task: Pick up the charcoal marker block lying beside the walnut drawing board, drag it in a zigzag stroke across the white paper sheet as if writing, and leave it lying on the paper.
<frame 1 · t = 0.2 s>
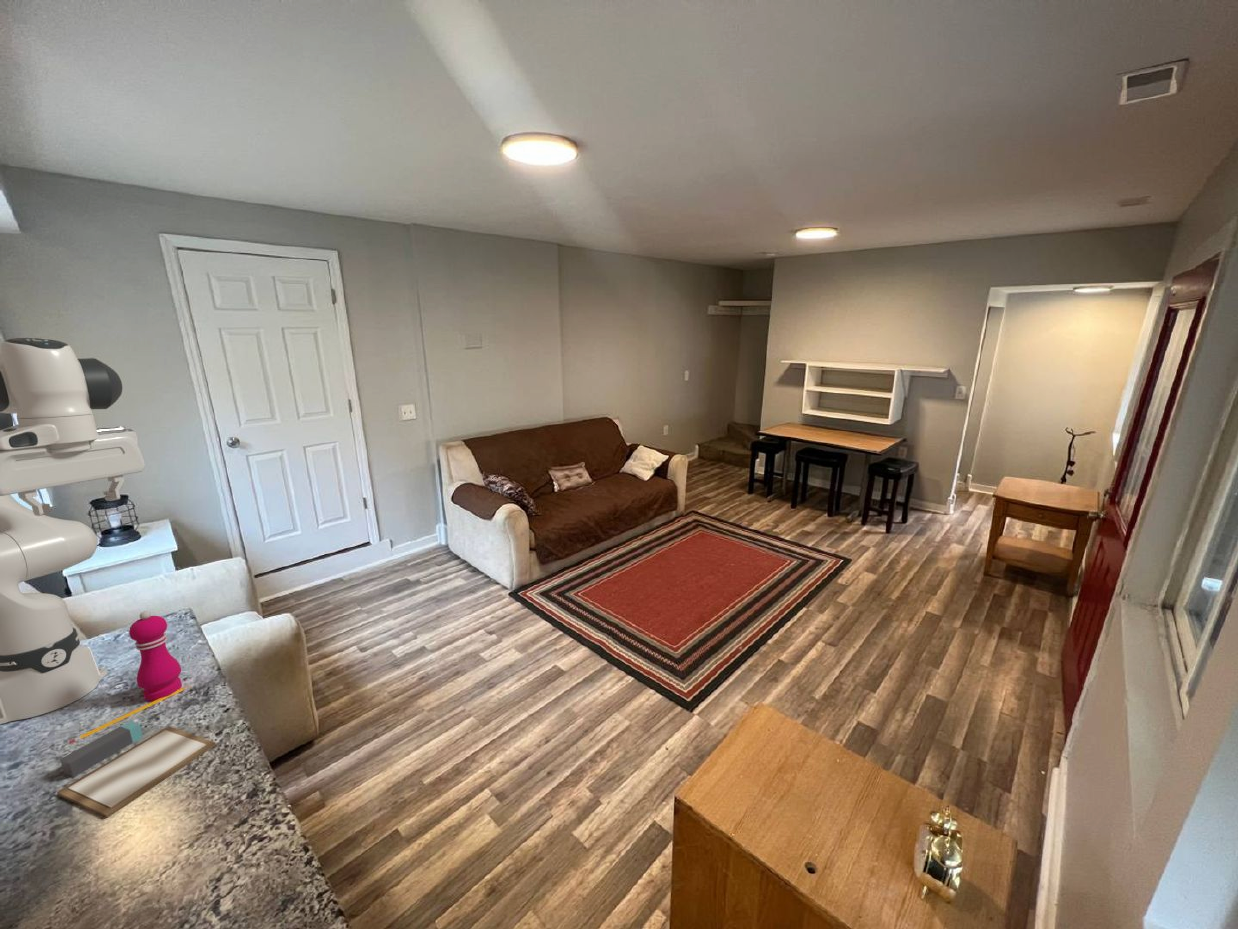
hand: (79, 506, 87), 47 cm above the countertop, tool pointing down, fingers open, 8 cm apart
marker: (105, 754, 91), on the countertop
pepper mill: (163, 693, 108), on the countertop
board: (141, 768, 87), on the countertop
pencil: (136, 714, 102), on the countertop
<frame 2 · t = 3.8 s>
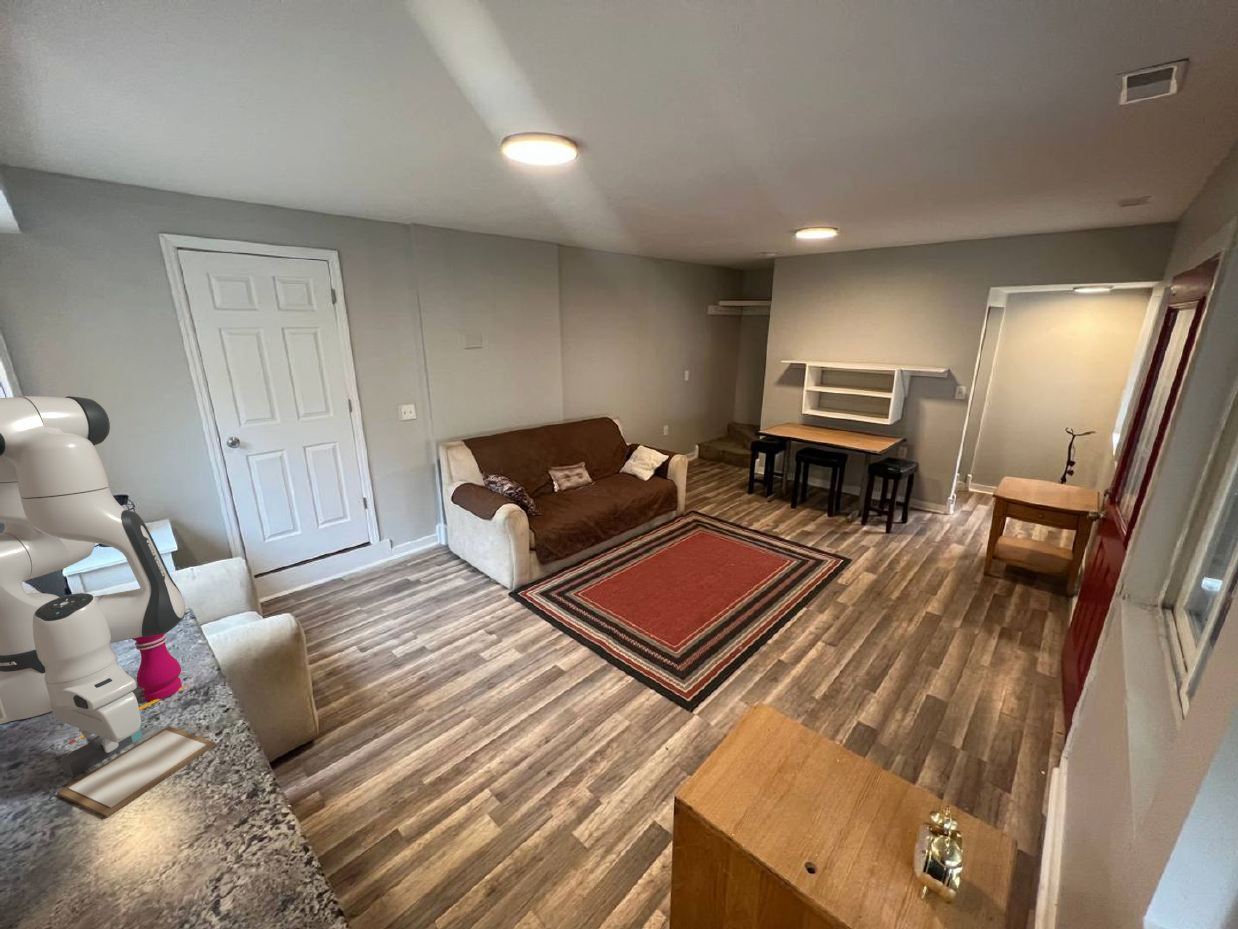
hand: (103, 746, 90), 2 cm above the countertop, tool pointing down, fingers closed on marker, 3 cm apart
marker: (105, 754, 91), on the countertop, touching gripper
everything else where it was.
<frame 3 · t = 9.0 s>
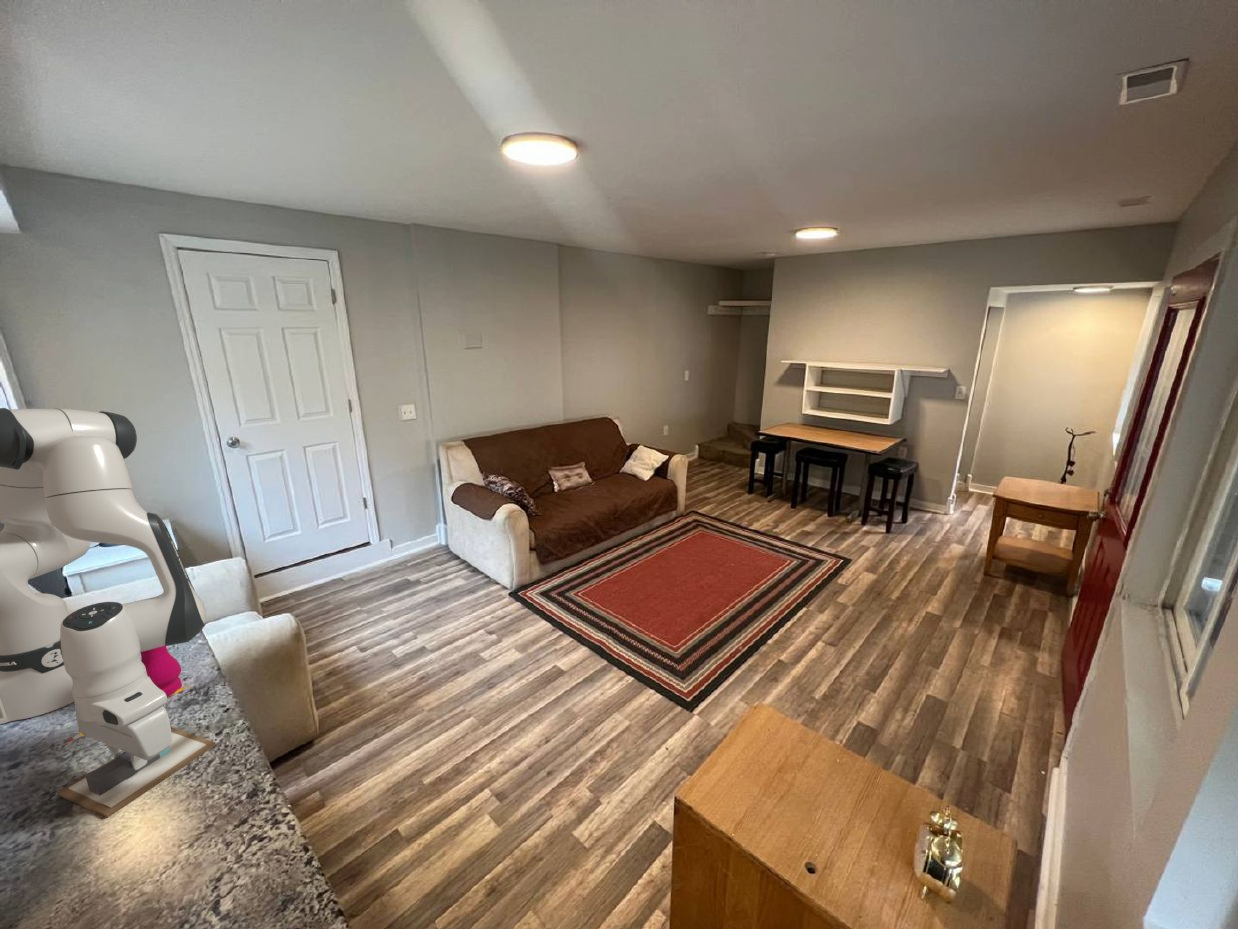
hand: (131, 763, 86), 2 cm above the countertop, tool pointing down, fingers closed on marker, 3 cm apart
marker: (132, 770, 86), point 1 cm above the countertop, touching gripper
everything else where it was.
when the fingers open (2 cm above the countertop, at t = 11.7 s): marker stays where it is, resting on board.
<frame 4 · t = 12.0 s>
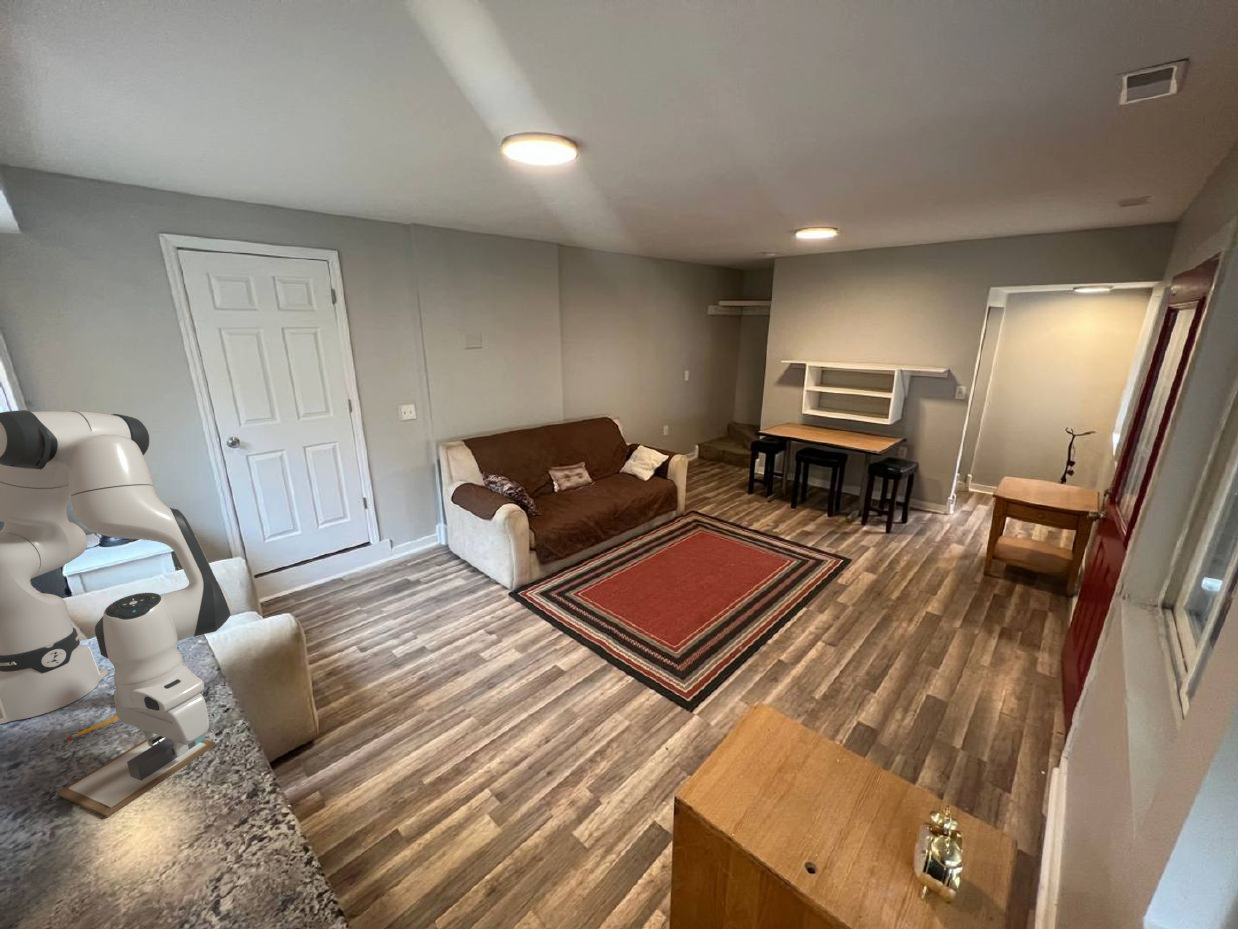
hand: (168, 749, 88), 2 cm above the countertop, tool pointing down, fingers open, 5 cm apart
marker: (169, 757, 89), point 1 cm above the countertop, touching board
everything else where it was.
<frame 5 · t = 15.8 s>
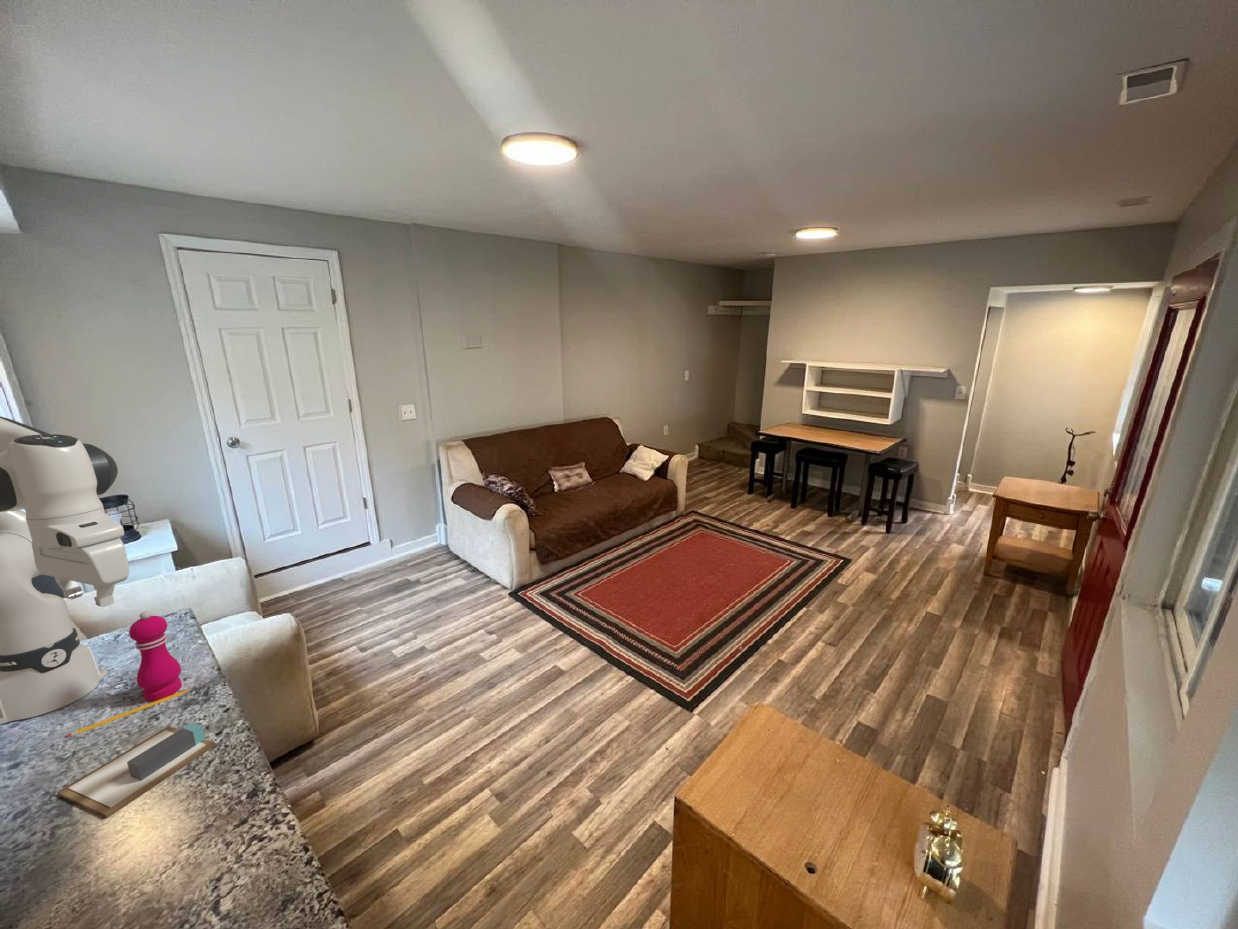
hand: (89, 601, 85), 31 cm above the countertop, tool pointing down, fingers open, 8 cm apart
at the end: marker inside the target area on the board (4.2 cm from its centre), point 0.8 cm above the board's base; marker moved 14.3 cm from its start; the gripper is holding nothing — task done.
